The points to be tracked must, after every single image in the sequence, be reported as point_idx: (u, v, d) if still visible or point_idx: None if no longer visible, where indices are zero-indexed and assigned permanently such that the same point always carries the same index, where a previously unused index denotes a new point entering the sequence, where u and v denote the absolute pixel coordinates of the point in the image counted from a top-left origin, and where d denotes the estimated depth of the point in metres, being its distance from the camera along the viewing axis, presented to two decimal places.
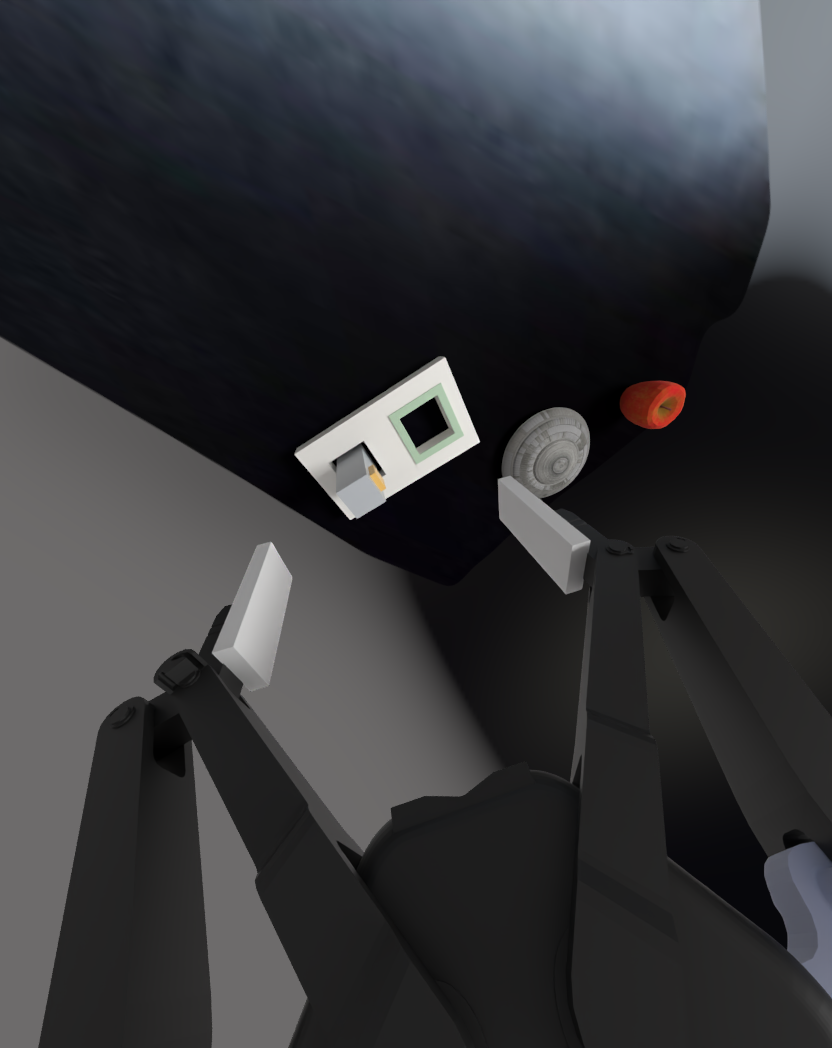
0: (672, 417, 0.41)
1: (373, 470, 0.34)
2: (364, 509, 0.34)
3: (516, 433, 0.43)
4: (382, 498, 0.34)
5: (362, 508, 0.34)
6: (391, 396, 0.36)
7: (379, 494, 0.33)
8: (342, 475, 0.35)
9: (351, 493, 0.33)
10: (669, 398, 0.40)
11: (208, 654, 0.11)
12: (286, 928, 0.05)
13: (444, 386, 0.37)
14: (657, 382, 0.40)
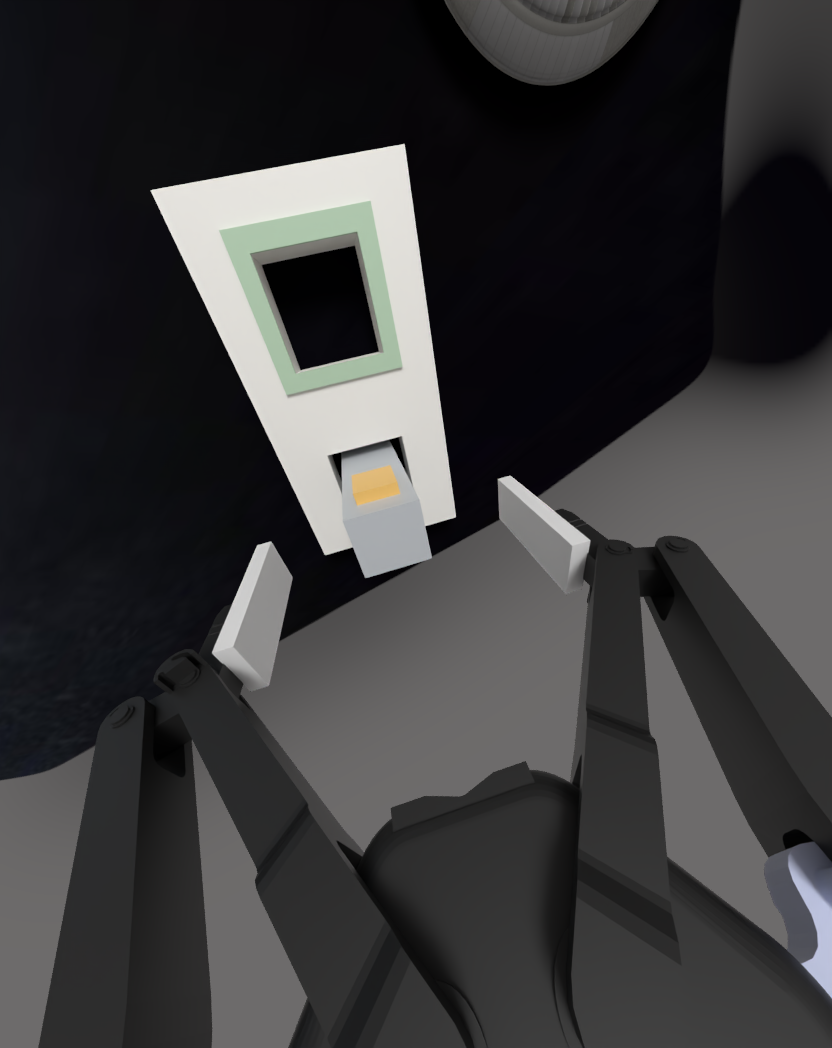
0: None
1: (353, 490, 0.16)
2: (418, 542, 0.16)
3: None
4: (409, 504, 0.15)
5: (414, 545, 0.16)
6: (246, 374, 0.18)
7: (398, 508, 0.15)
8: None
9: (376, 554, 0.16)
10: None
11: (208, 654, 0.11)
12: (286, 928, 0.05)
13: (230, 221, 0.14)
14: None
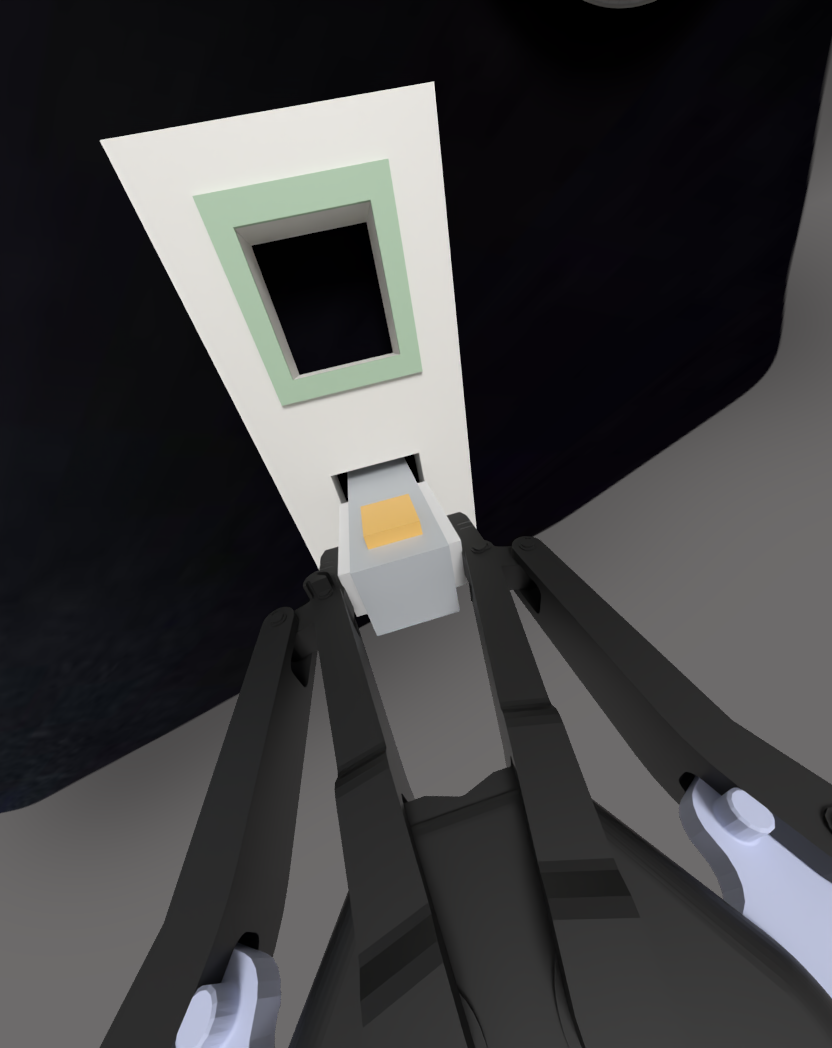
0: None
1: (363, 528, 0.13)
2: (445, 594, 0.13)
3: None
4: (436, 551, 0.12)
5: (439, 597, 0.13)
6: (232, 380, 0.14)
7: (421, 556, 0.12)
8: None
9: (391, 610, 0.13)
10: None
11: None
12: (348, 839, 0.06)
13: (207, 184, 0.11)
14: None
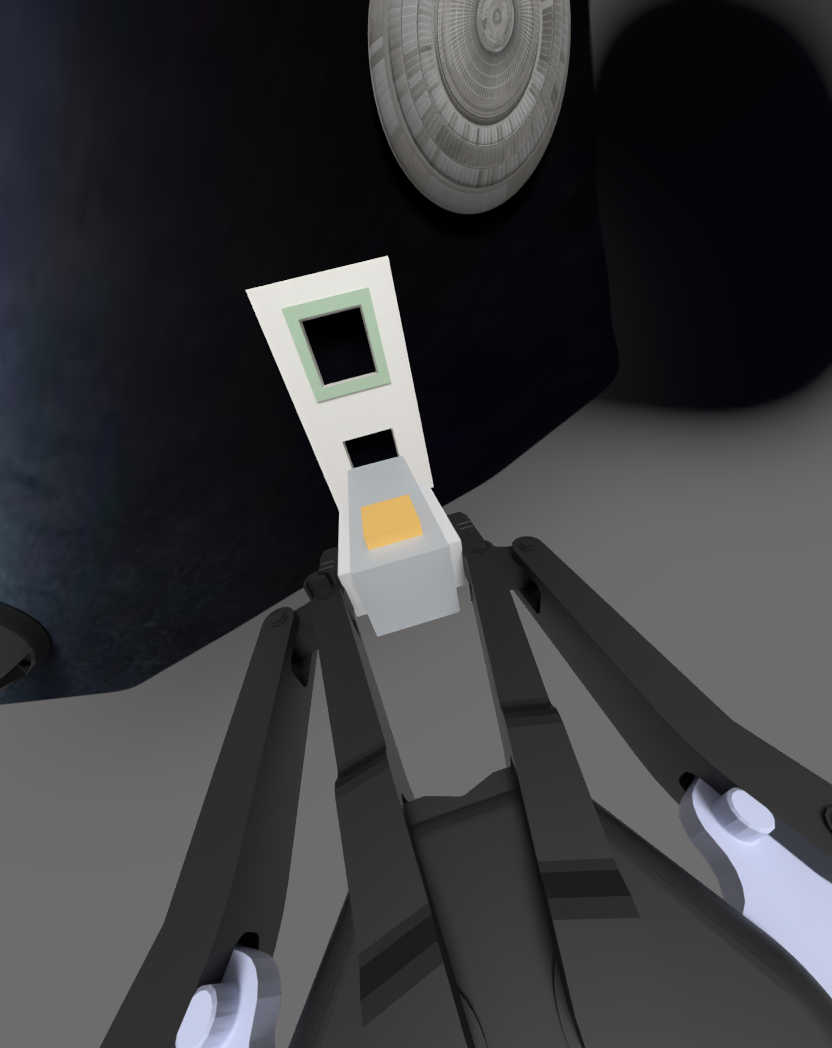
0: None
1: None
2: (445, 594, 0.13)
3: (397, 154, 0.23)
4: (436, 552, 0.12)
5: (440, 597, 0.13)
6: (292, 389, 0.28)
7: (421, 556, 0.12)
8: None
9: (392, 610, 0.13)
10: None
11: None
12: (348, 839, 0.06)
13: (287, 303, 0.25)
14: None
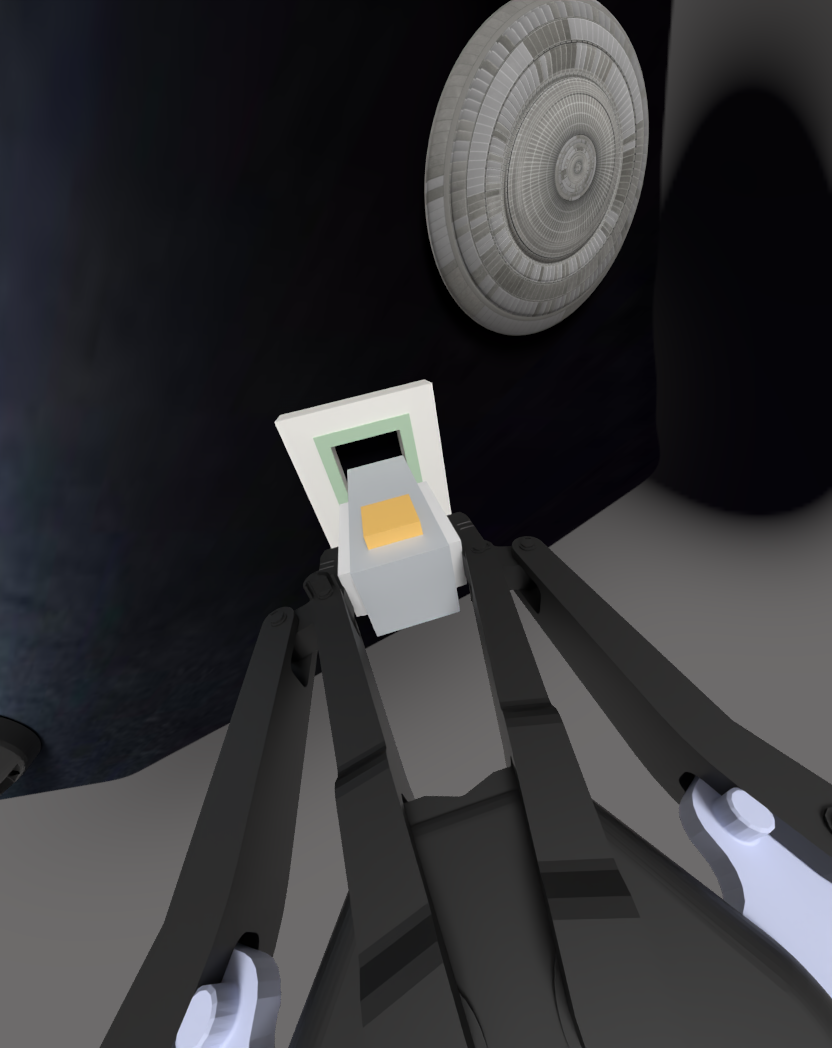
0: None
1: None
2: (445, 594, 0.13)
3: (448, 284, 0.20)
4: (436, 552, 0.12)
5: (439, 597, 0.13)
6: (319, 509, 0.26)
7: (421, 556, 0.12)
8: None
9: (392, 610, 0.13)
10: None
11: None
12: (348, 839, 0.06)
13: (320, 432, 0.22)
14: None
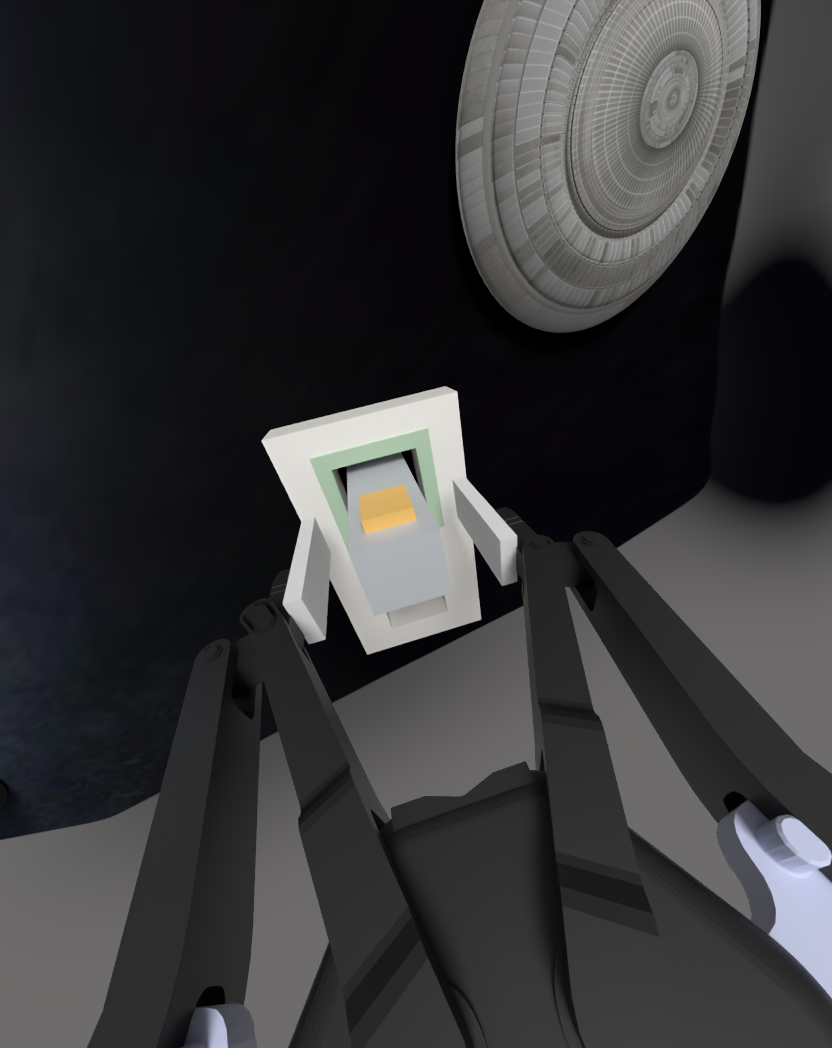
0: None
1: (361, 515, 0.14)
2: (437, 576, 0.14)
3: (481, 267, 0.16)
4: (428, 535, 0.13)
5: (432, 579, 0.14)
6: None
7: (414, 539, 0.13)
8: None
9: (387, 590, 0.14)
10: None
11: None
12: (319, 873, 0.05)
13: (318, 451, 0.18)
14: None
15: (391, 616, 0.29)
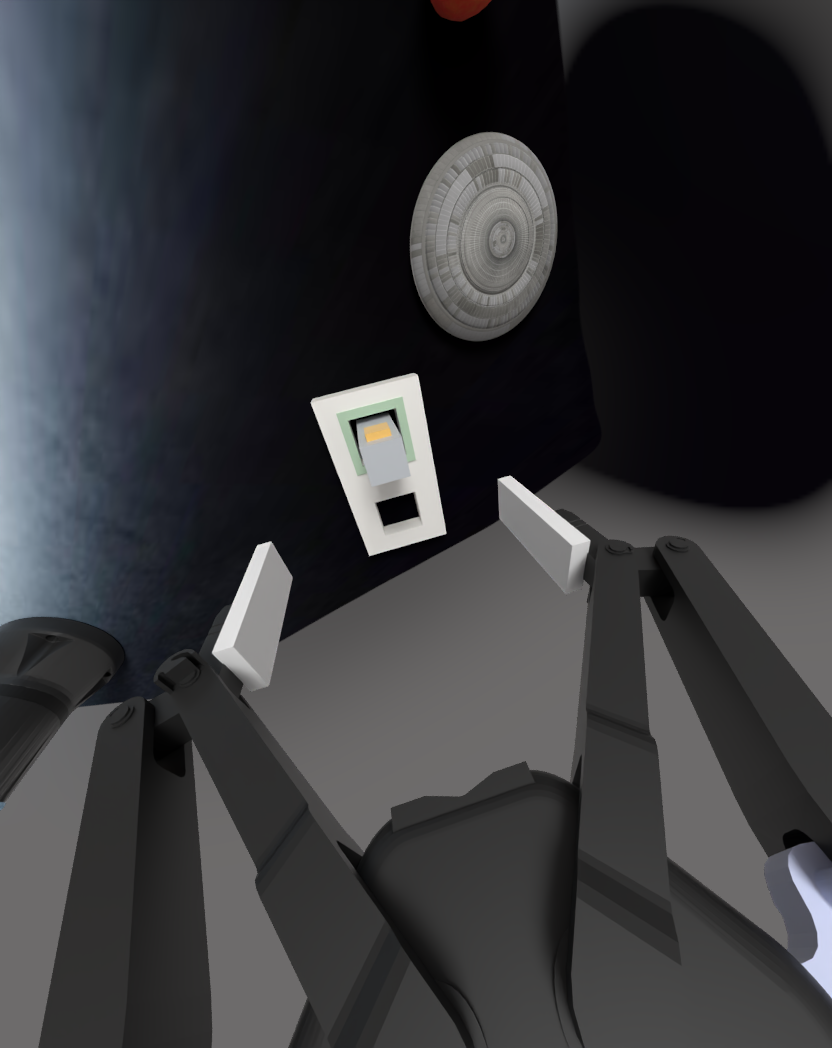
0: None
1: (364, 433, 0.28)
2: (402, 464, 0.28)
3: (428, 308, 0.30)
4: (396, 439, 0.27)
5: (400, 466, 0.28)
6: (339, 467, 0.36)
7: (389, 441, 0.27)
8: None
9: (378, 471, 0.28)
10: None
11: (208, 654, 0.11)
12: (286, 928, 0.05)
13: (340, 409, 0.33)
14: None
15: (385, 530, 0.44)
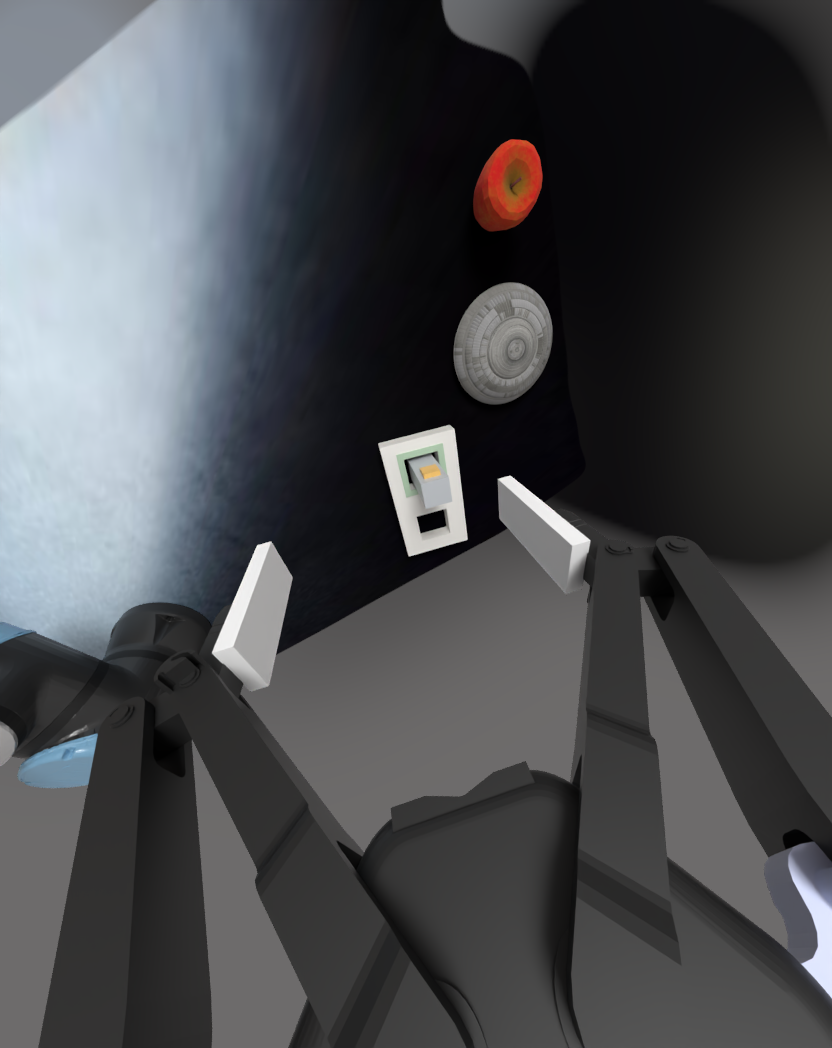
0: (534, 167, 0.29)
1: (422, 473, 0.41)
2: (447, 494, 0.42)
3: (463, 385, 0.44)
4: (445, 478, 0.40)
5: (445, 495, 0.42)
6: (394, 491, 0.49)
7: (440, 479, 0.40)
8: (418, 492, 0.45)
9: (431, 498, 0.42)
10: (505, 176, 0.29)
11: (208, 654, 0.11)
12: (286, 928, 0.05)
13: (399, 452, 0.46)
14: (479, 188, 0.31)
15: (421, 536, 0.57)
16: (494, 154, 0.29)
